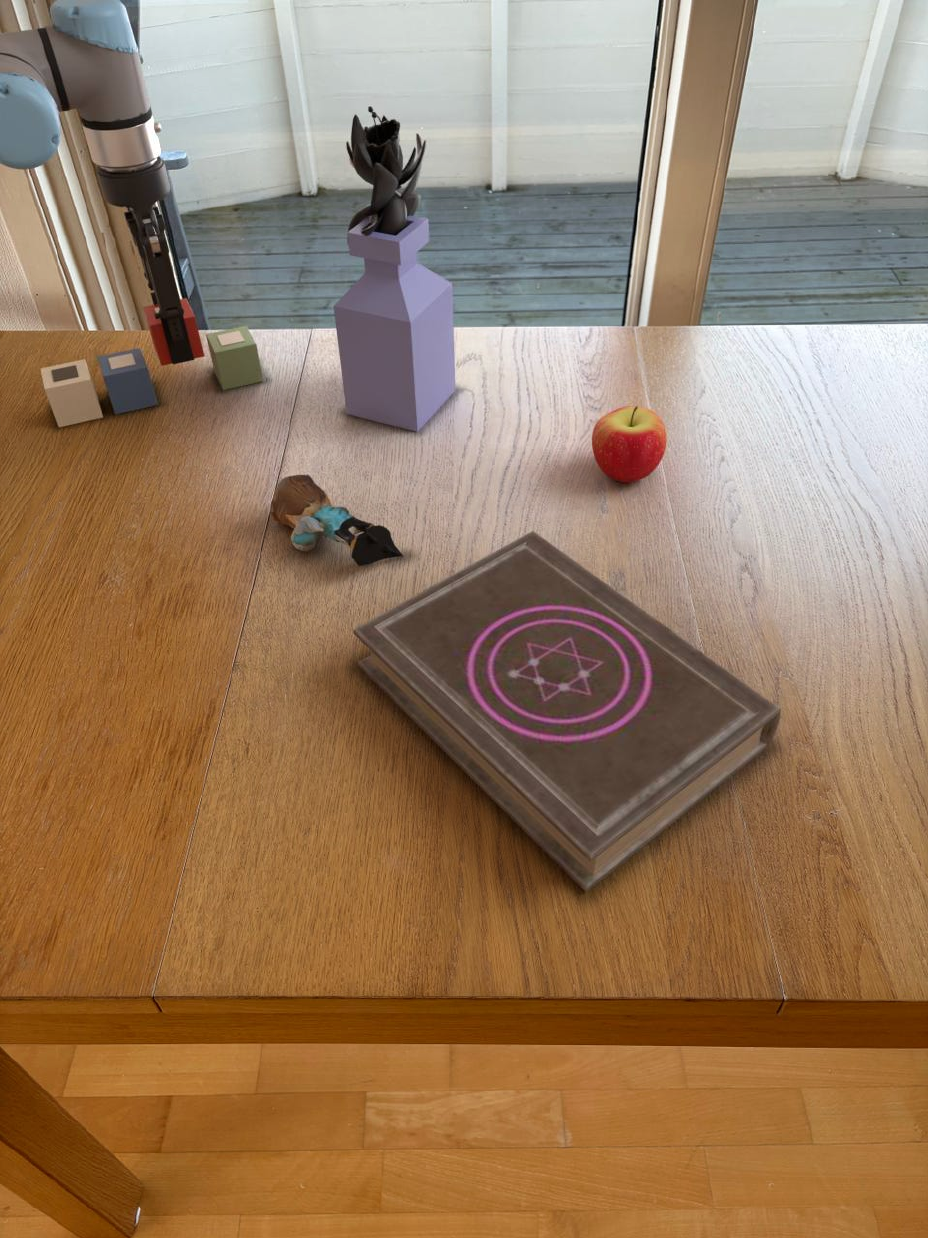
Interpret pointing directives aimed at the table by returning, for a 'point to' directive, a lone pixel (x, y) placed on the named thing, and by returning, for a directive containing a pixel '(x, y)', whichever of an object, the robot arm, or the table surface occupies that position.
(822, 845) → the table surface
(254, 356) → the sage block
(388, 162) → the vase
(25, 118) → the robot arm
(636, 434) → the apple
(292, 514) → the figurine
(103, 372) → the blue block
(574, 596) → the book
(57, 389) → the cream block
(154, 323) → the red block
